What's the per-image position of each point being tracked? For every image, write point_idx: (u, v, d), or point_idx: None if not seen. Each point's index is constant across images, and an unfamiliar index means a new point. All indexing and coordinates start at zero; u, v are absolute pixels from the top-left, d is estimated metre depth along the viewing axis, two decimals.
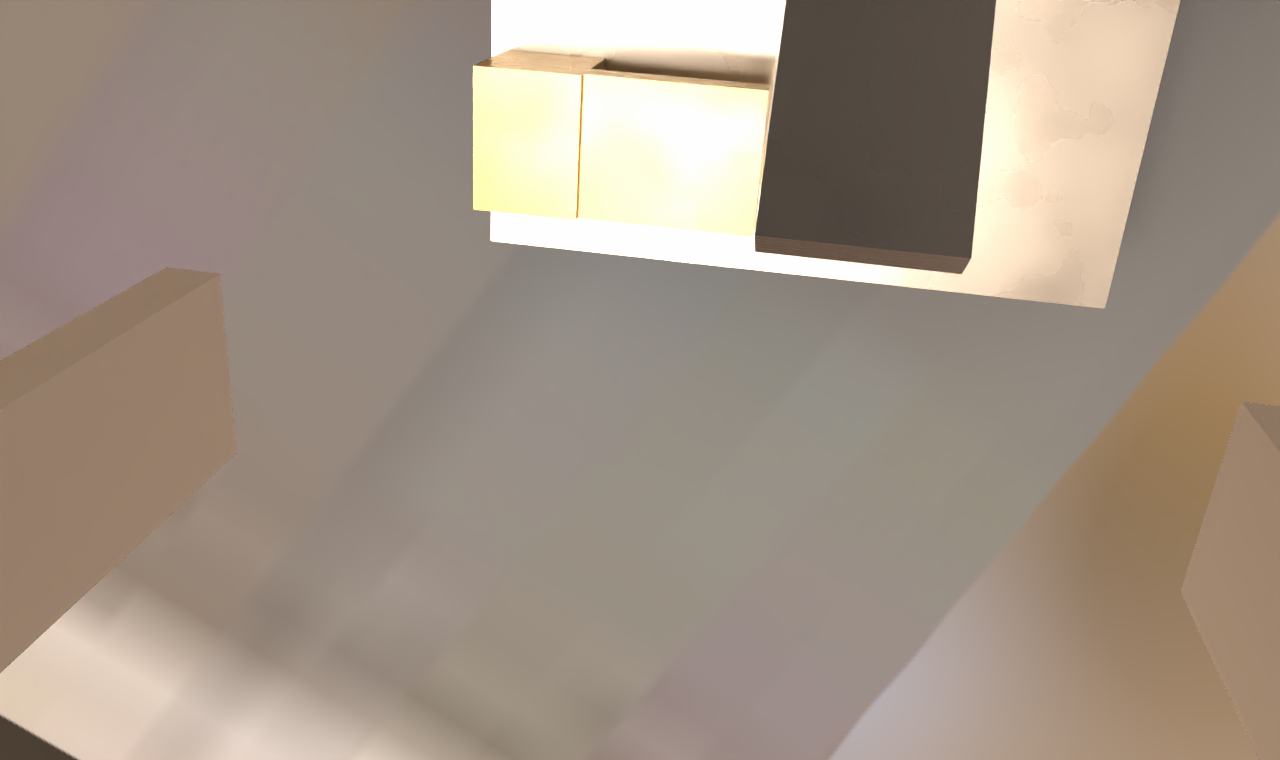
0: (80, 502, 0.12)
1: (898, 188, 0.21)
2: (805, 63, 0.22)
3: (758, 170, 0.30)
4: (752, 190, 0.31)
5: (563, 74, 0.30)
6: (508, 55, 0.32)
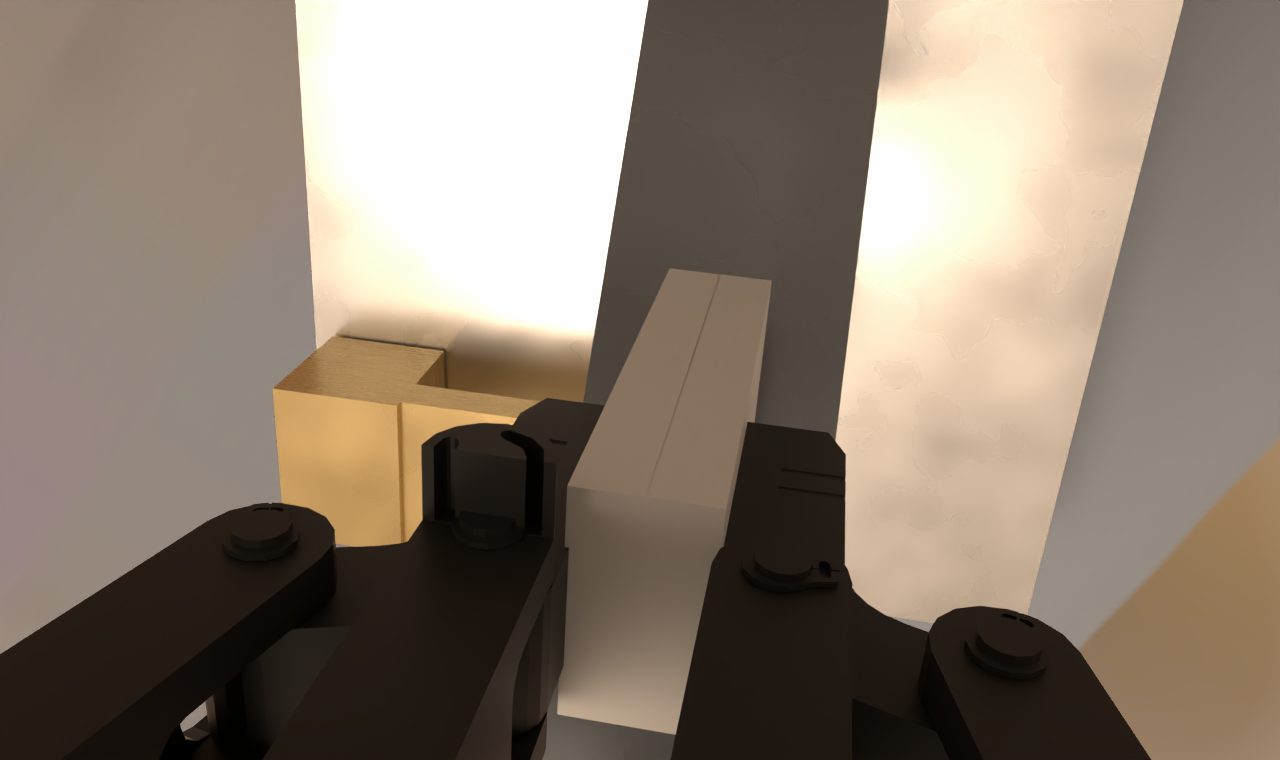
0: None
1: None
2: None
3: None
4: None
5: (376, 403, 0.26)
6: (328, 352, 0.28)
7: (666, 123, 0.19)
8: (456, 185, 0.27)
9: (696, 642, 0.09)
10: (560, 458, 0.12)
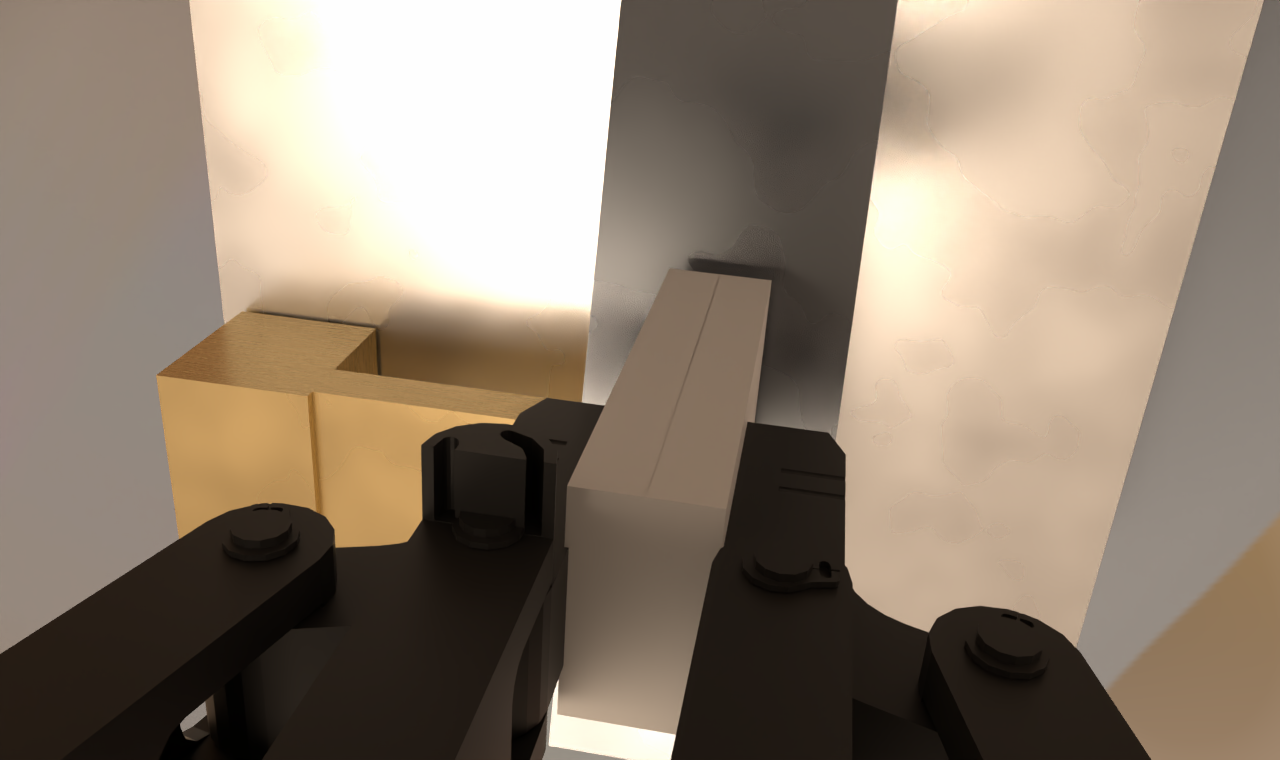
0: None
1: None
2: None
3: None
4: None
5: (283, 393, 0.21)
6: (234, 330, 0.23)
7: (653, 95, 0.17)
8: (383, 125, 0.22)
9: (696, 642, 0.09)
10: (560, 458, 0.12)
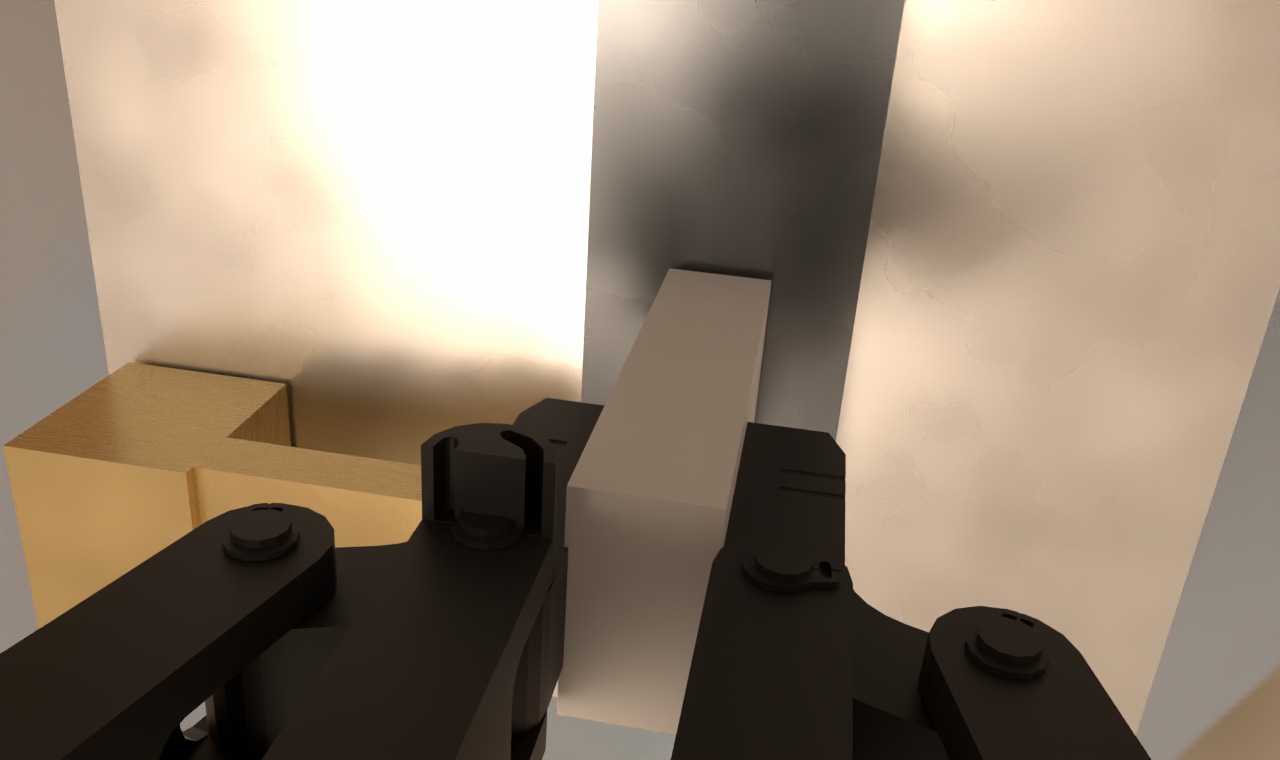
0: None
1: None
2: None
3: None
4: None
5: (156, 469, 0.17)
6: (113, 386, 0.19)
7: (638, 100, 0.15)
8: (289, 141, 0.18)
9: (697, 642, 0.09)
10: (560, 458, 0.12)
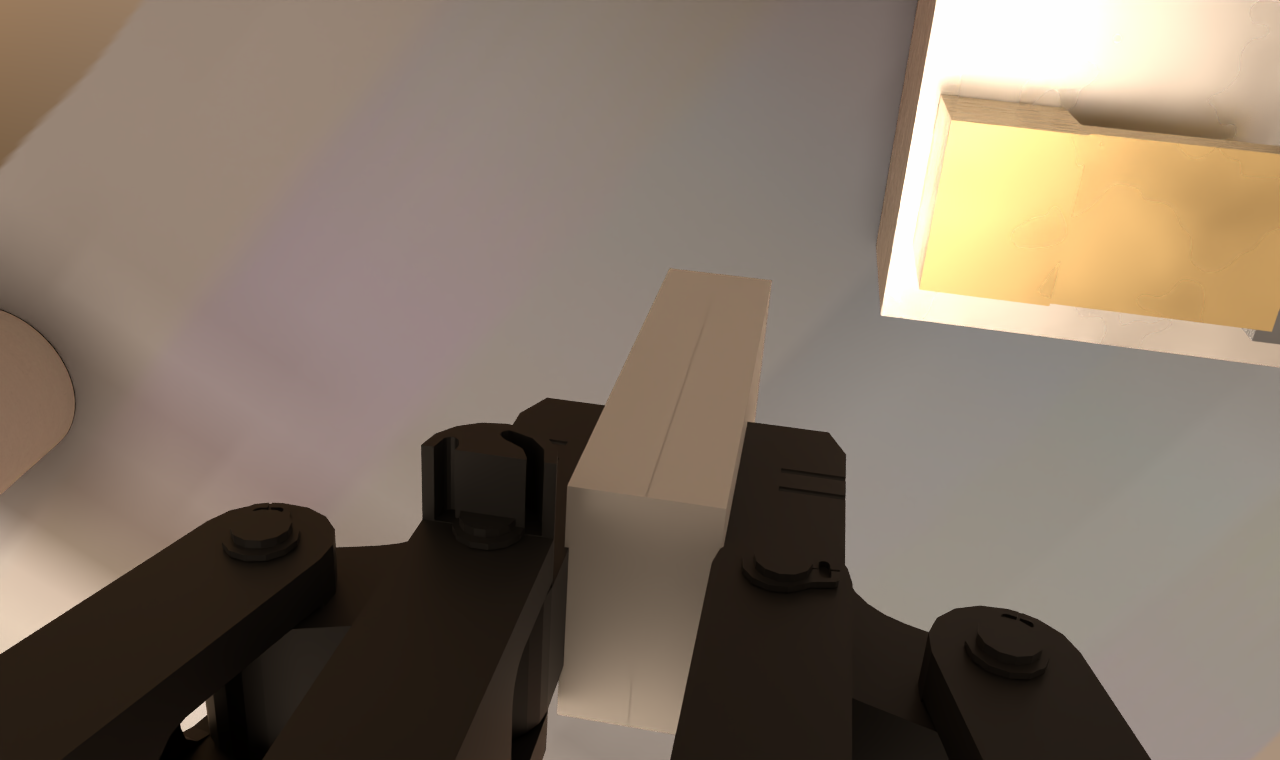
0: None
1: None
2: None
3: None
4: None
5: (1067, 133, 0.25)
6: (957, 103, 0.27)
7: None
8: None
9: (696, 642, 0.09)
10: (560, 458, 0.12)
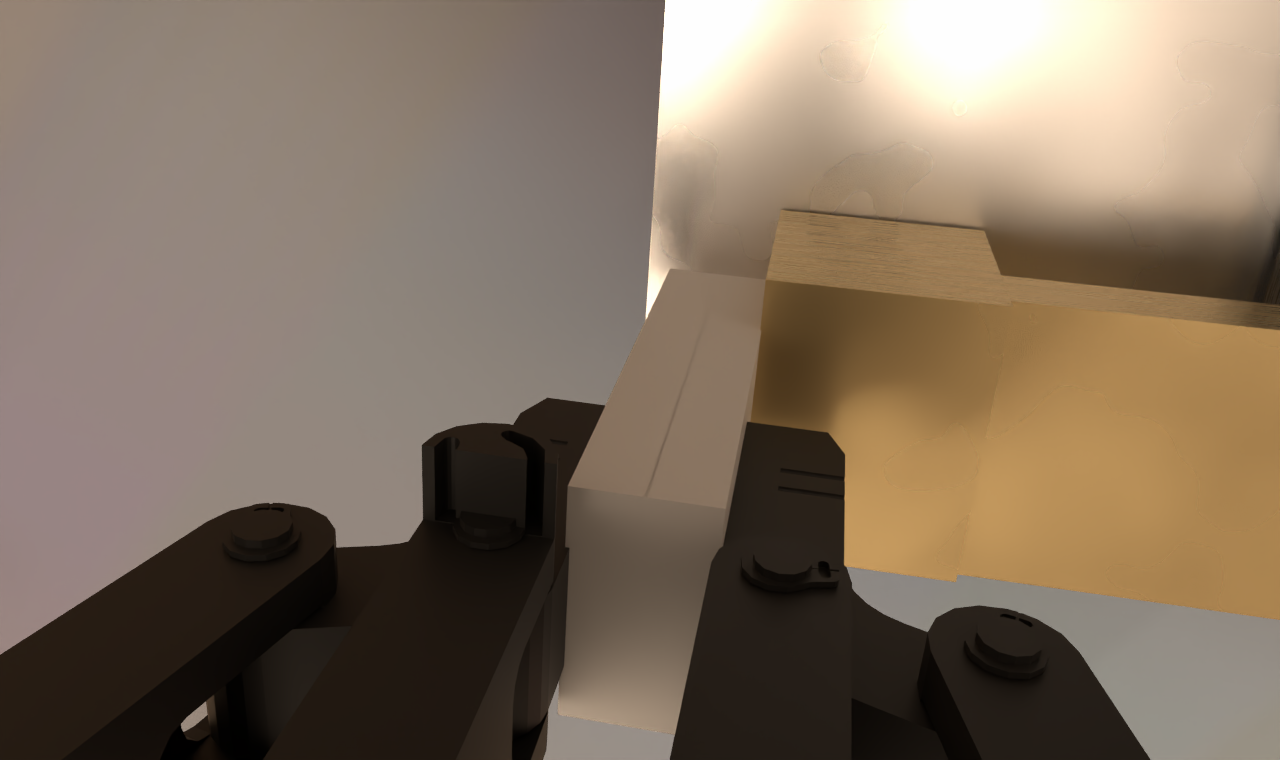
0: None
1: None
2: None
3: None
4: None
5: (971, 302, 0.14)
6: (800, 230, 0.16)
7: None
8: None
9: (696, 642, 0.09)
10: (561, 458, 0.12)
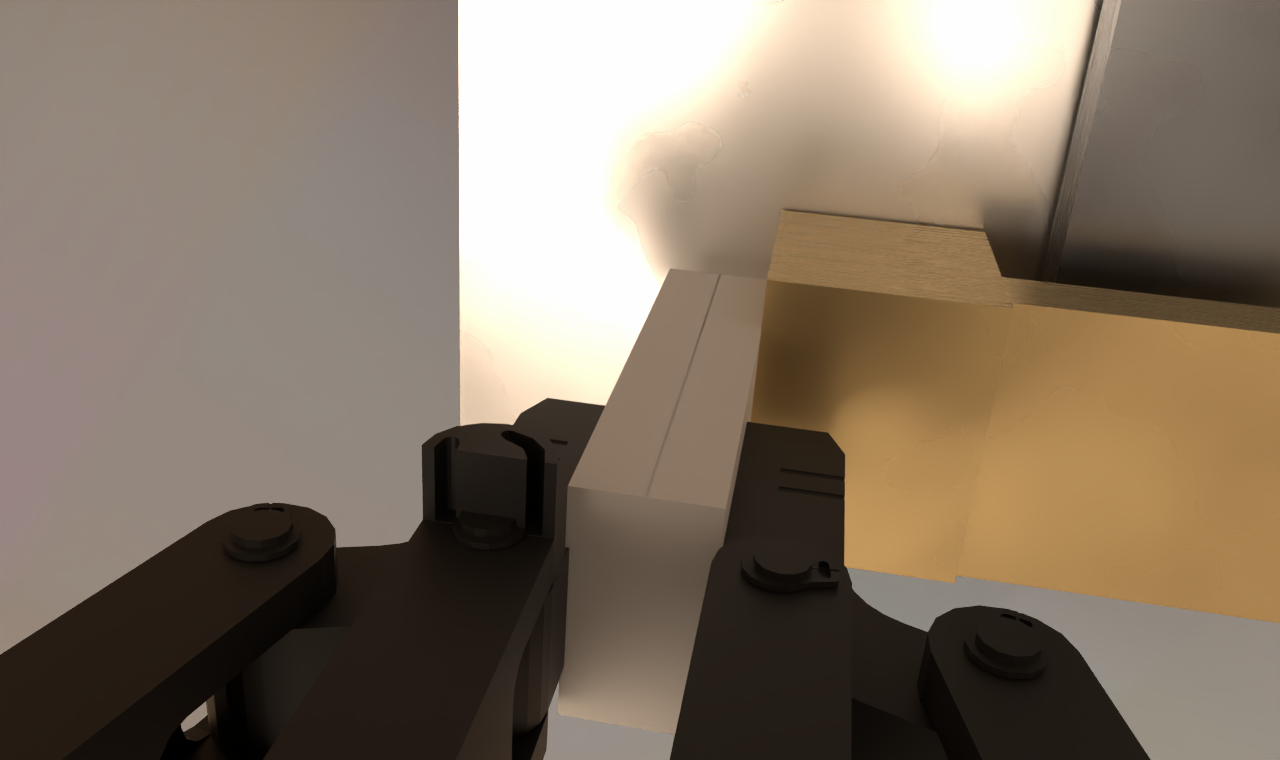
0: None
1: None
2: None
3: None
4: None
5: (972, 304, 0.14)
6: (800, 230, 0.16)
7: None
8: None
9: (695, 642, 0.09)
10: (560, 458, 0.12)
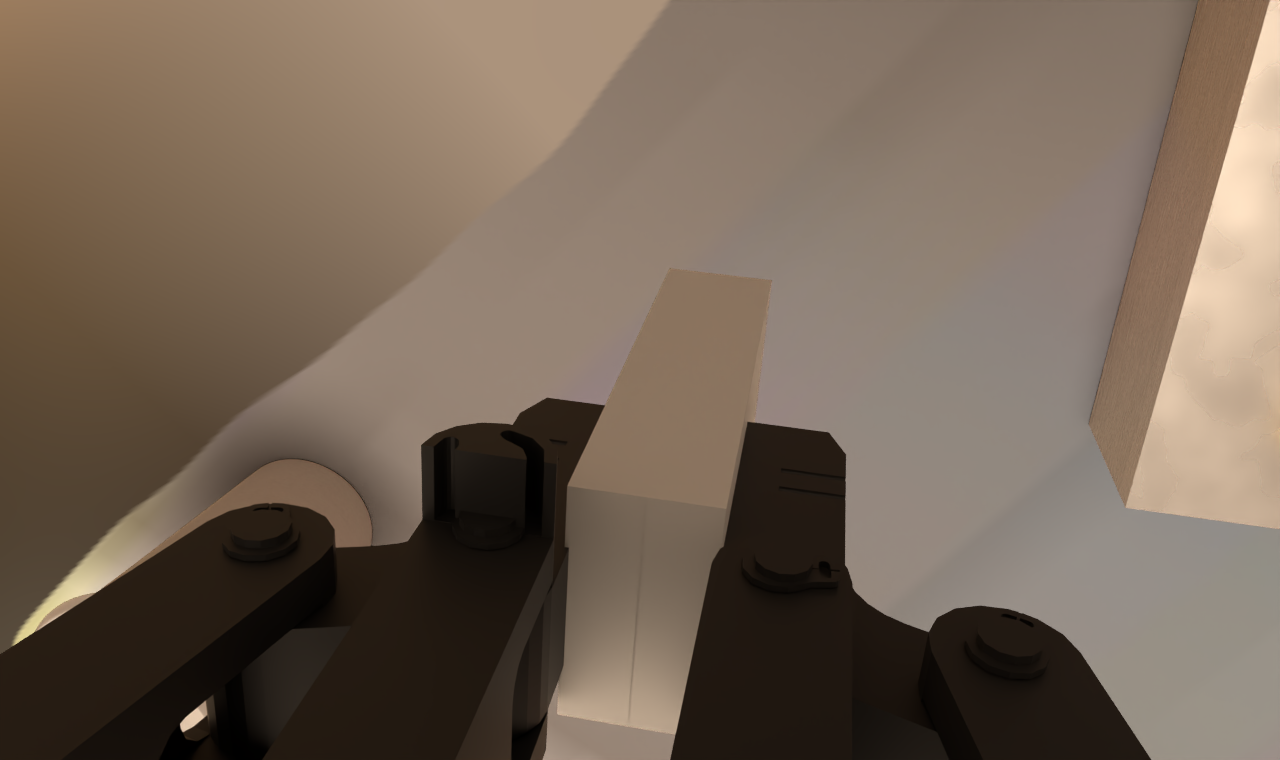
0: None
1: None
2: None
3: None
4: None
5: None
6: None
7: None
8: None
9: (696, 642, 0.09)
10: (560, 458, 0.12)
